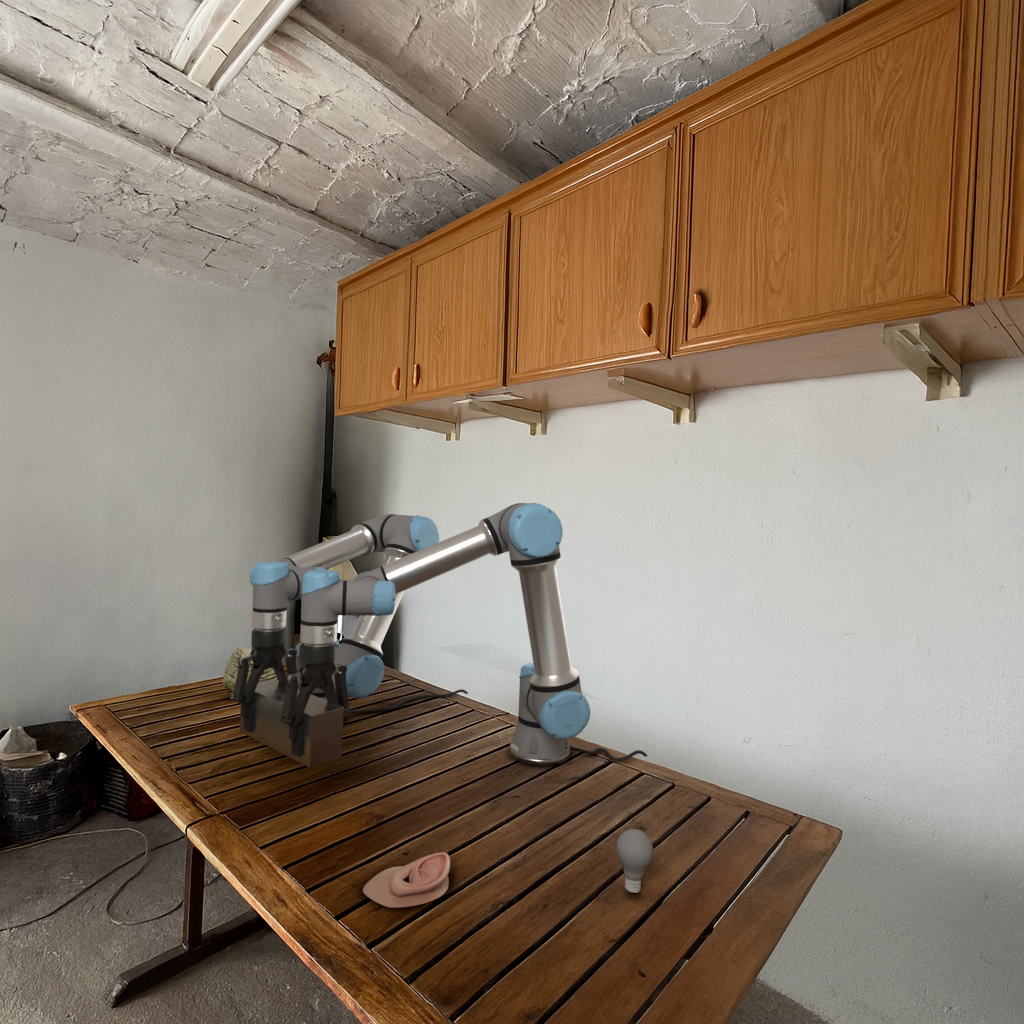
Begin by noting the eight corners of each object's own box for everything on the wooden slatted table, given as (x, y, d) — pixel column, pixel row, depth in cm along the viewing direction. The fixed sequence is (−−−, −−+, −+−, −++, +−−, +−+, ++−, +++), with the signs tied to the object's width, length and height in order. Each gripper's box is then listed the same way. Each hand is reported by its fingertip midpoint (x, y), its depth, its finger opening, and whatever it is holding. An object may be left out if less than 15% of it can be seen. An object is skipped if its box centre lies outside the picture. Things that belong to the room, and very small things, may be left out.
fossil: (218, 695, 195) (220, 647, 195) (278, 685, 208) (279, 640, 207) (228, 703, 189) (230, 653, 188) (289, 692, 201) (290, 645, 201)
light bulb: (610, 879, 108) (613, 822, 108) (644, 879, 109) (647, 822, 109) (619, 902, 102) (622, 840, 102) (655, 901, 103) (658, 840, 103)
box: (239, 731, 147) (241, 685, 147) (270, 723, 154) (272, 679, 153) (309, 768, 130) (311, 715, 129) (341, 756, 136) (343, 707, 136)
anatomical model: (355, 876, 100) (384, 838, 111) (354, 901, 100) (383, 861, 111) (435, 890, 97) (457, 850, 108) (434, 916, 97) (456, 873, 108)
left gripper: (234, 637, 137) (230, 742, 137) (317, 625, 153) (313, 718, 153) (217, 631, 141) (213, 733, 142) (299, 620, 158) (296, 711, 158)
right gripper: (284, 654, 125) (279, 769, 125) (368, 639, 141) (364, 740, 141) (263, 647, 129) (259, 758, 130) (347, 633, 145) (344, 731, 146)
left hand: (265, 725), depth 148 cm, fingers closed on box, 8 cm apart
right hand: (314, 748), depth 135 cm, fingers closed on box, 8 cm apart
